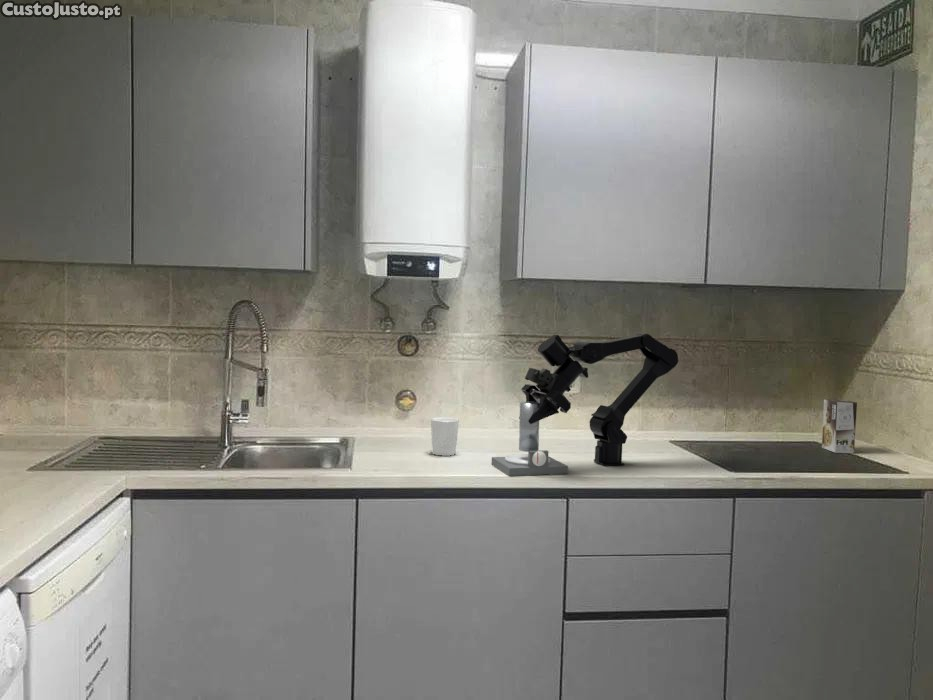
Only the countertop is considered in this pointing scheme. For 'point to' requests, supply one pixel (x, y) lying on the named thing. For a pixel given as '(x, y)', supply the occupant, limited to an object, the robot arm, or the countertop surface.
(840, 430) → the coffee box
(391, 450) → the countertop surface
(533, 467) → the scale
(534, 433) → the metal canister
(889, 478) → the countertop surface
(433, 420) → the white cup
